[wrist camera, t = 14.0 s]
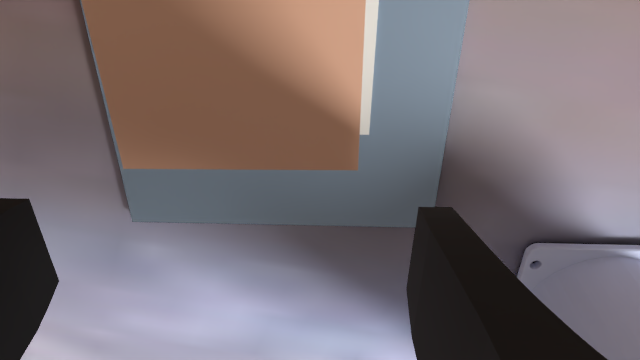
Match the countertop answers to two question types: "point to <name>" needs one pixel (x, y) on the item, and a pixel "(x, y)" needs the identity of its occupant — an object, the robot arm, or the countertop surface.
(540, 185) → the countertop surface
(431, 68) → the plan board
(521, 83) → the countertop surface
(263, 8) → the terracotta block
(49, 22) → the countertop surface
